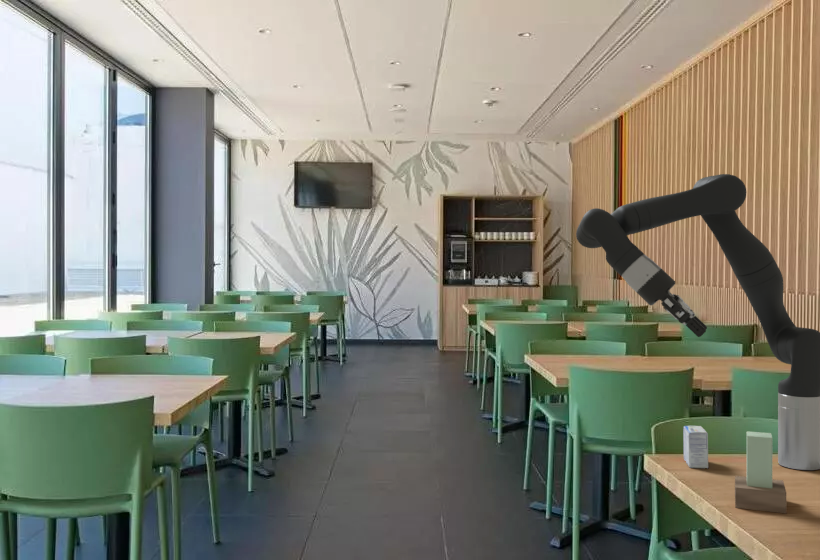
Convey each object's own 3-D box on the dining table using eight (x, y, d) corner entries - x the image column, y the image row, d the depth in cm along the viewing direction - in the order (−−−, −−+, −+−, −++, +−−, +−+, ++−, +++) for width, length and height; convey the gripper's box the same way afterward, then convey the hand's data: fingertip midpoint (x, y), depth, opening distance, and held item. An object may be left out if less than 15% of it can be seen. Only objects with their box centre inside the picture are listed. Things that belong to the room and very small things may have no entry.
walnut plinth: (734, 494, 152) (734, 475, 152) (783, 499, 148) (783, 480, 148) (735, 507, 143) (735, 487, 143) (786, 513, 140) (786, 492, 140)
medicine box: (708, 469, 171) (708, 432, 171) (688, 468, 172) (688, 431, 172) (702, 460, 179) (702, 425, 179) (683, 459, 180) (683, 425, 180)
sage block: (746, 479, 148) (746, 431, 148) (770, 482, 147) (771, 433, 147) (747, 485, 144) (747, 435, 144) (772, 488, 143) (772, 437, 142)
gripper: (657, 267, 153) (716, 323, 148) (663, 267, 166) (717, 318, 161) (631, 292, 155) (688, 347, 151) (639, 290, 168) (691, 341, 164)
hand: (703, 332), depth 156 cm, fingers open, 8 cm apart
